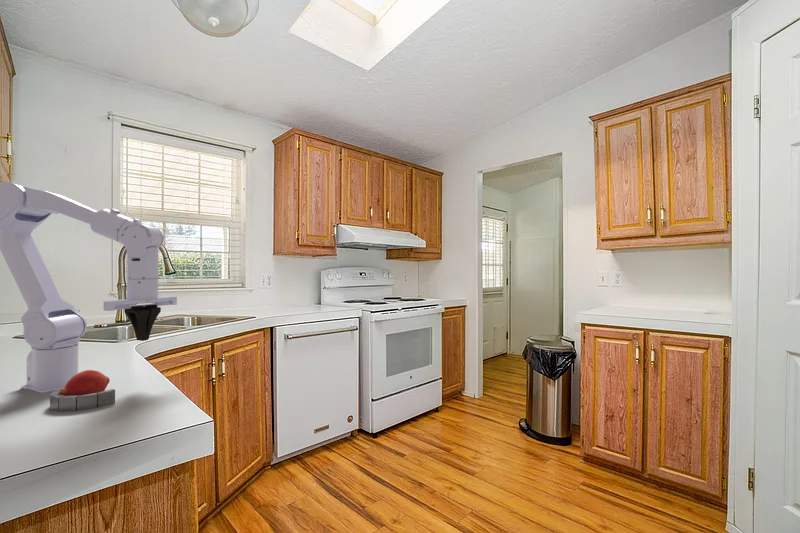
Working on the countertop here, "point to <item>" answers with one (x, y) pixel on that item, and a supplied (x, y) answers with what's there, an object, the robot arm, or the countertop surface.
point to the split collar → (80, 400)
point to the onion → (85, 383)
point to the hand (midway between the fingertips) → (142, 340)
